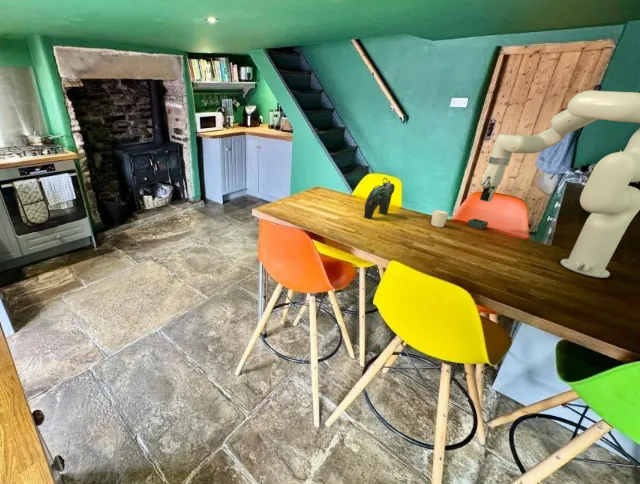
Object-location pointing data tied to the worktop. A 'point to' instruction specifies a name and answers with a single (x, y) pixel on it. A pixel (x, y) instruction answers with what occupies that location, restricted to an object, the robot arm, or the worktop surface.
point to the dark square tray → (477, 224)
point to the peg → (490, 195)
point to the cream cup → (439, 218)
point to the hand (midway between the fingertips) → (485, 199)
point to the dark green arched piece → (379, 199)
